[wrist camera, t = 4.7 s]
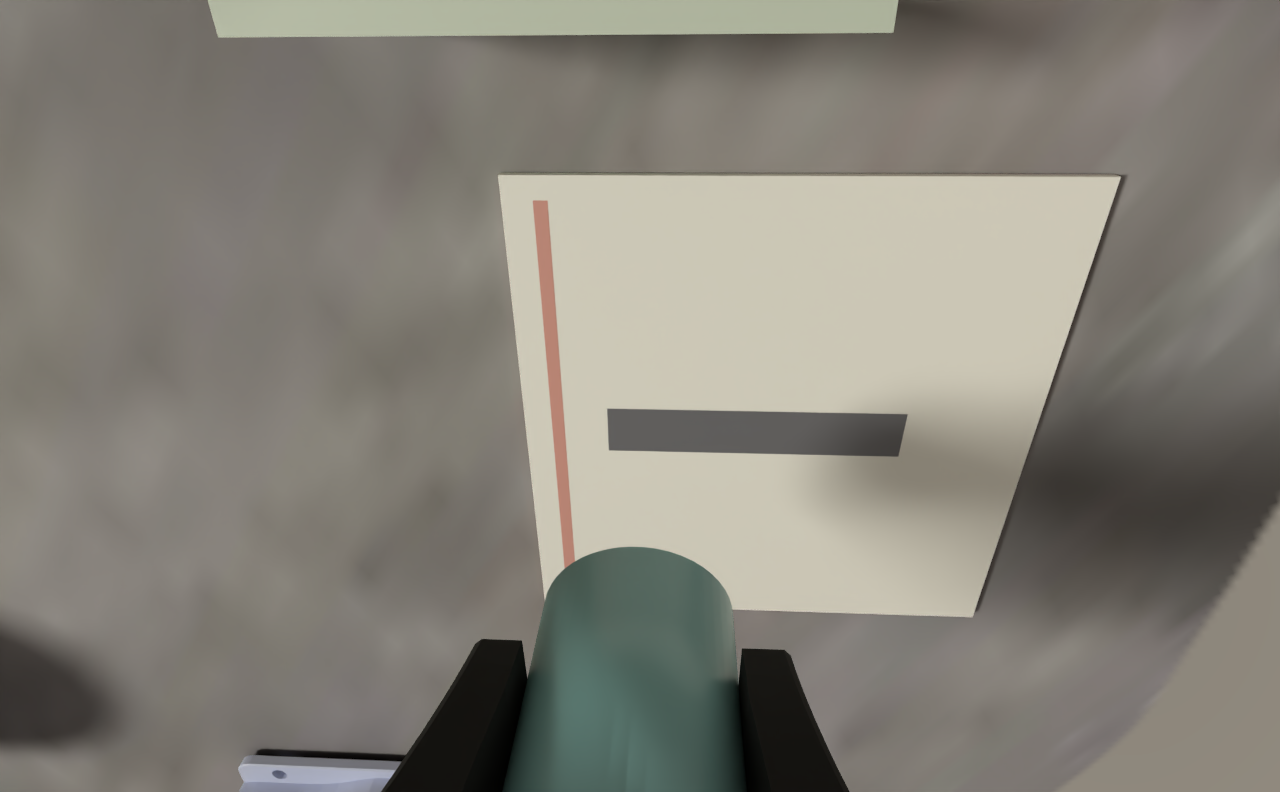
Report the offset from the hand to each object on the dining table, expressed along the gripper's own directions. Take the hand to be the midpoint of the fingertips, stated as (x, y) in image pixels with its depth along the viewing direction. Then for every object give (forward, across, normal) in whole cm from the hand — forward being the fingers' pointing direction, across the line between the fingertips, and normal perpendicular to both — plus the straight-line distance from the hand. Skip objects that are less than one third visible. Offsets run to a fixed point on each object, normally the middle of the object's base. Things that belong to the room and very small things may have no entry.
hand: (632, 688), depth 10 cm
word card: (+7, +1, -9) cm, 12 cm away
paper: (+7, -3, 0) cm, 8 cm away
